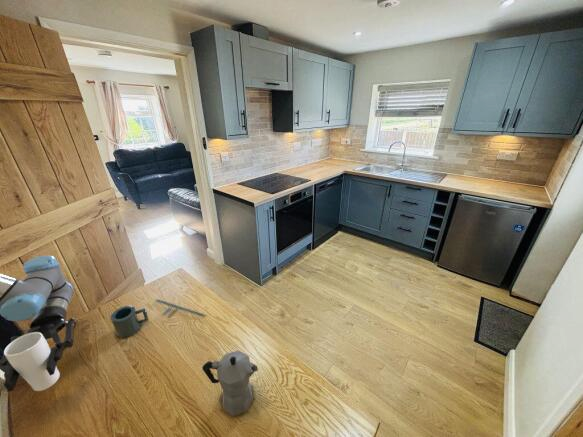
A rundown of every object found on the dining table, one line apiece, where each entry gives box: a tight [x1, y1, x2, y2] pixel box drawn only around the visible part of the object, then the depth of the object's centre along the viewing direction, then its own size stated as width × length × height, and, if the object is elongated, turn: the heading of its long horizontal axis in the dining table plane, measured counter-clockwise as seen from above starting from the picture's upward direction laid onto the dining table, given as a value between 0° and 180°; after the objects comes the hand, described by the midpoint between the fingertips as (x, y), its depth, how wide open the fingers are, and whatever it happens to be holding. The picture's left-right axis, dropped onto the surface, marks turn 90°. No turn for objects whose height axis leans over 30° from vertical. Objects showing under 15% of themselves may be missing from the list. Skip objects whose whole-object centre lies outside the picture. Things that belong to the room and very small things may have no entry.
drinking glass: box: [3, 332, 61, 392], centre depth 61 cm, size 7×7×15 cm
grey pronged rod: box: [156, 299, 204, 318], centre depth 99 cm, size 1×25×5 cm
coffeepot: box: [202, 350, 259, 417], centre depth 67 cm, size 15×9×18 cm, turn 86°
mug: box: [110, 305, 149, 339], centre depth 90 cm, size 11×8×9 cm
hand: (30, 378), depth 57 cm, fingers closed on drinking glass, 6 cm apart
